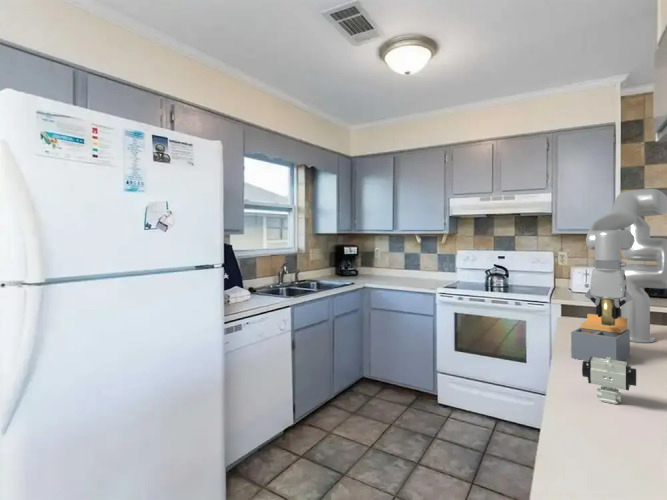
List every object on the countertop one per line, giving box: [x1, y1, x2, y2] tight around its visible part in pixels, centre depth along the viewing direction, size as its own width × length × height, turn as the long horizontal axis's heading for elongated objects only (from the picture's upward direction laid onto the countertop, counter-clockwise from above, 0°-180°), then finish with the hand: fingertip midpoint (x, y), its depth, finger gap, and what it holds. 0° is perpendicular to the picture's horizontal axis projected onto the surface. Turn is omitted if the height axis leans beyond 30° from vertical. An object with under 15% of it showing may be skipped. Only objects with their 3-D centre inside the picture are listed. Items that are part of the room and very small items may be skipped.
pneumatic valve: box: [581, 357, 638, 405], centre depth 104 cm, size 6×12×12 cm, turn 50°
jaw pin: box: [601, 298, 615, 326], centre depth 136 cm, size 4×4×9 cm
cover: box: [580, 313, 628, 333], centre depth 144 cm, size 9×12×4 cm
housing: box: [570, 326, 631, 362], centre depth 141 cm, size 18×14×10 cm
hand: (608, 316), depth 136 cm, fingers closed on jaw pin, 4 cm apart
